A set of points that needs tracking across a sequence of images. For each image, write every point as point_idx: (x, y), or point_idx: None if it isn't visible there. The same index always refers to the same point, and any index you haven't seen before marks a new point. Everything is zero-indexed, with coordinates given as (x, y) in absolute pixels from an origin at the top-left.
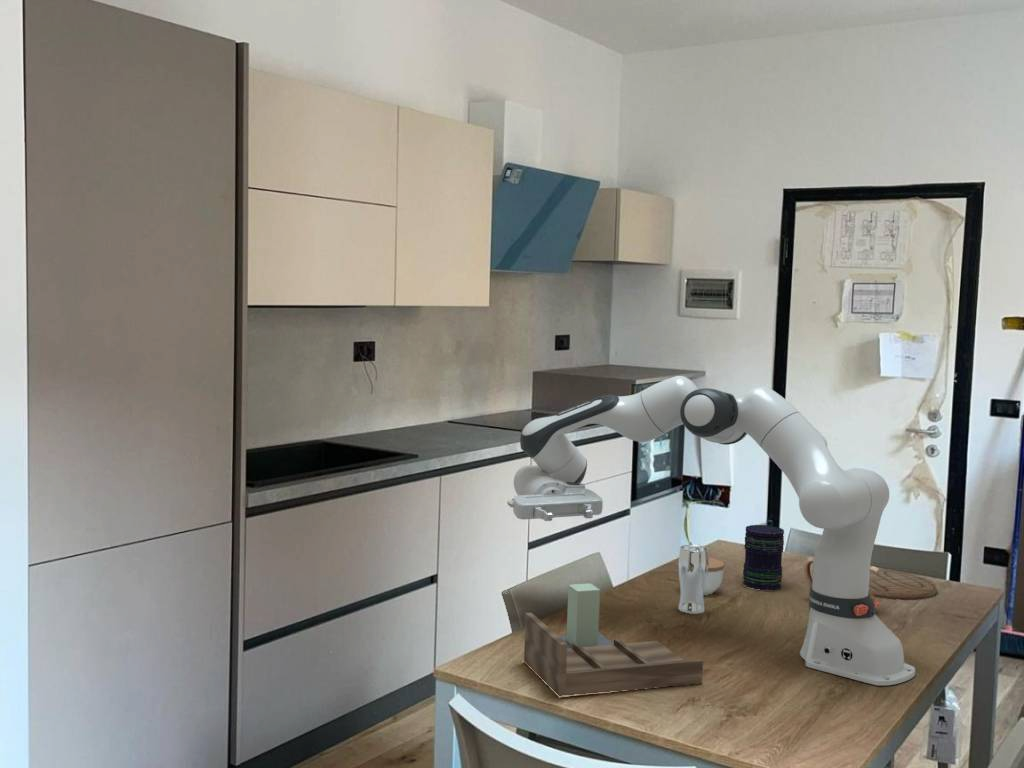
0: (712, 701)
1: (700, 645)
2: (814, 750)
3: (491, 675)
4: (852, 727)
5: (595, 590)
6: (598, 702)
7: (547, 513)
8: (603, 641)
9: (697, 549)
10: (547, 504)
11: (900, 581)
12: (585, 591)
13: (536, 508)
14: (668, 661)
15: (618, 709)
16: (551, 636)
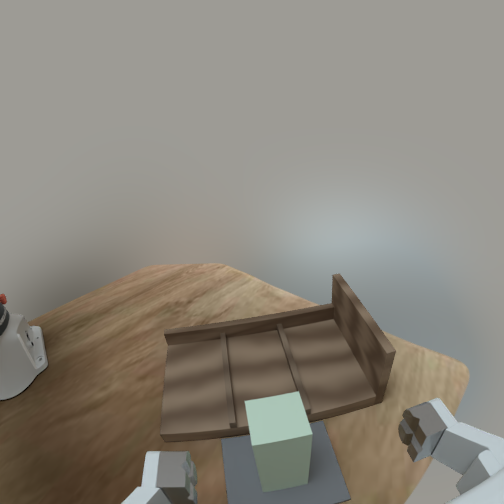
0: (186, 320)
1: (93, 444)
2: (167, 270)
3: (415, 362)
4: (119, 288)
5: (255, 399)
6: None
7: (430, 401)
8: (238, 477)
9: None
10: (457, 497)
11: None
12: (279, 396)
13: (501, 440)
14: (204, 328)
15: (282, 309)
16: (351, 289)
